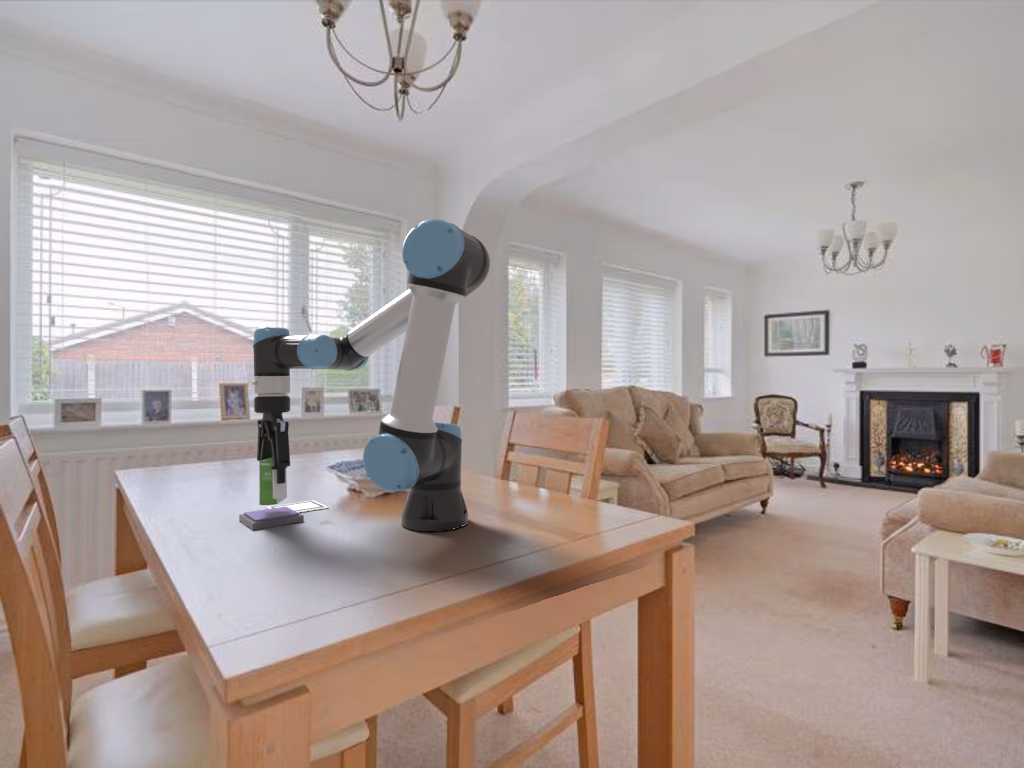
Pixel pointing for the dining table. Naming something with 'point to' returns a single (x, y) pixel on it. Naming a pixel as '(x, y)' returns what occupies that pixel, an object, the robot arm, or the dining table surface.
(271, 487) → the ink box
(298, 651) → the dining table surface
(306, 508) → the print sheet
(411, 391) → the robot arm
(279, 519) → the ink pad
